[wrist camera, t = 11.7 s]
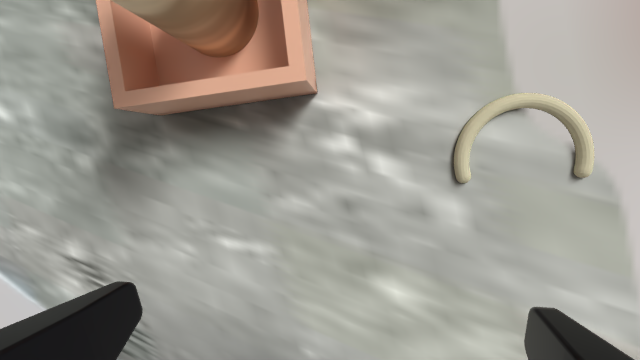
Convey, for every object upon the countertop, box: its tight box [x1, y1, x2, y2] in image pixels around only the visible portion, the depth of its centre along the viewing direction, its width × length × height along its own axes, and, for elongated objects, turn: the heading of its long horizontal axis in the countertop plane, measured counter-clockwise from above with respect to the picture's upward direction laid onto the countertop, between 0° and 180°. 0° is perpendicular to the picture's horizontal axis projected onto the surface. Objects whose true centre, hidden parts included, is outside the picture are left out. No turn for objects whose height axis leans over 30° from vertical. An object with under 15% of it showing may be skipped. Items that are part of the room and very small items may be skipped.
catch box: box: [96, 0, 317, 115], centre depth 18 cm, size 11×11×4 cm
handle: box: [454, 93, 594, 183], centre depth 19 cm, size 8×1×5 cm
